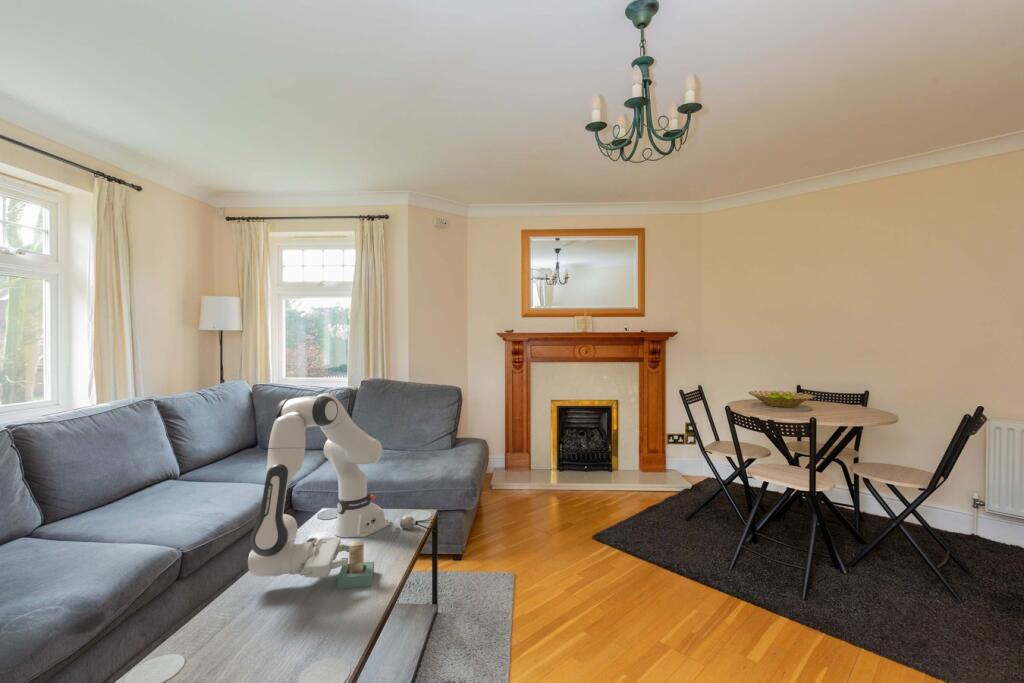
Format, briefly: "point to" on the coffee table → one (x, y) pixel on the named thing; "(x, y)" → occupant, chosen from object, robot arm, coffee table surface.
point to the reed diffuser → (413, 523)
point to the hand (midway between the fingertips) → (350, 554)
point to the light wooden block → (356, 557)
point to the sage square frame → (356, 576)
